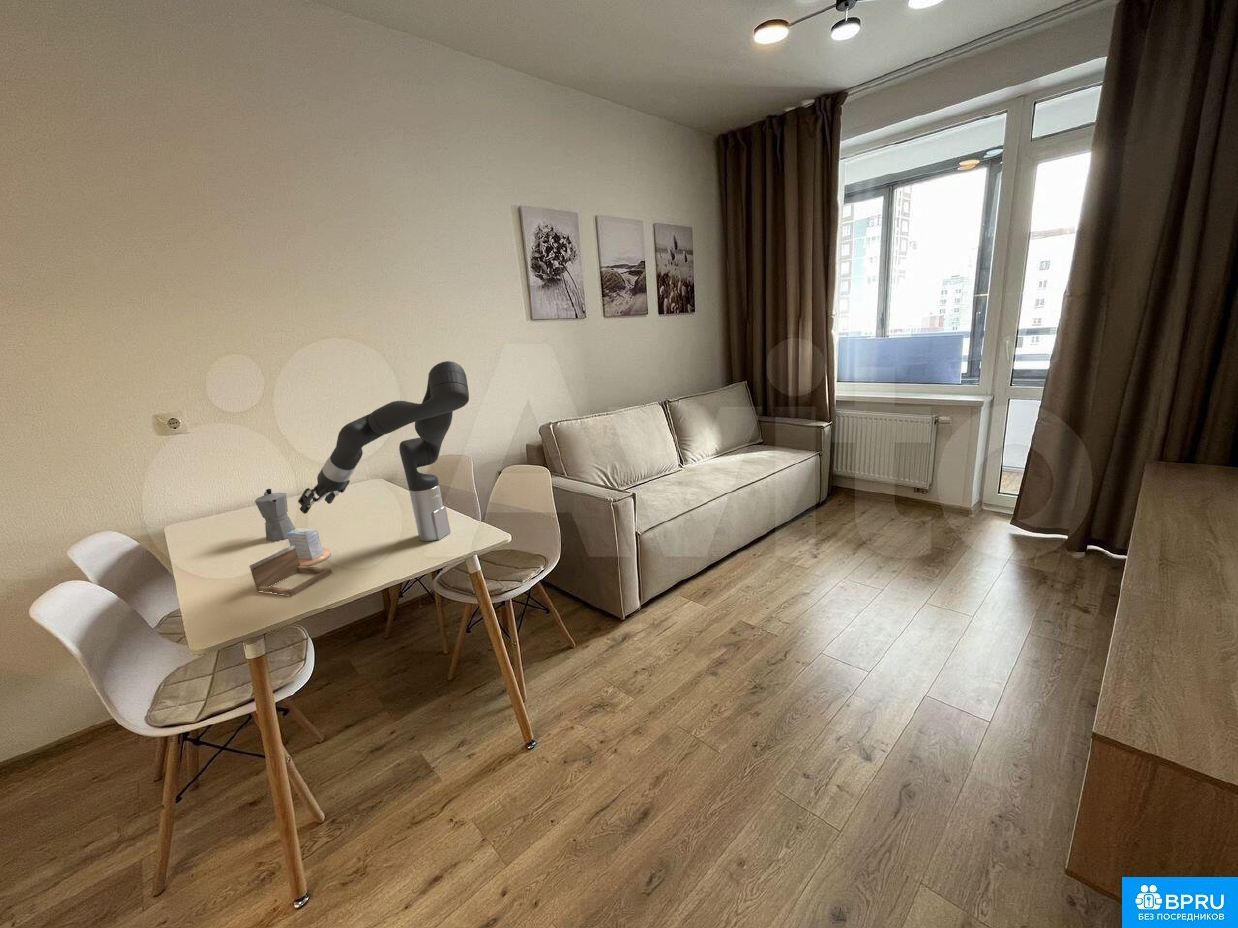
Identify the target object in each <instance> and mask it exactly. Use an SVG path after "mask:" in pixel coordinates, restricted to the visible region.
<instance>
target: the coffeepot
mask: <svg viewBox="0 0 1238 928" xmlns="http://www.w3.org/2000/svg"><path fill="white" fill-rule="evenodd" d="M254 503H255V505H256V506H257V507H256V508H257V509H258V511H259V513H260V515H261V516H262V518H263V519H264V521H265V523H264V525H265V527H264V528H265V539H266V541H267V542H269V541H276V542H281V541H285V540H288V537H287V533H289V532H291V531H293V530H295V529H296V528H295V526H294V524H293V522H292V520H291V518H290V517H289V515H288V511H289V508H288V497H287V493H286V492H273V493H272V488H267V489H265V492H264V493H263V495H262V496H260V497H257V498H256V499H255V500H254ZM280 540H281V541H280Z"/></svg>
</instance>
